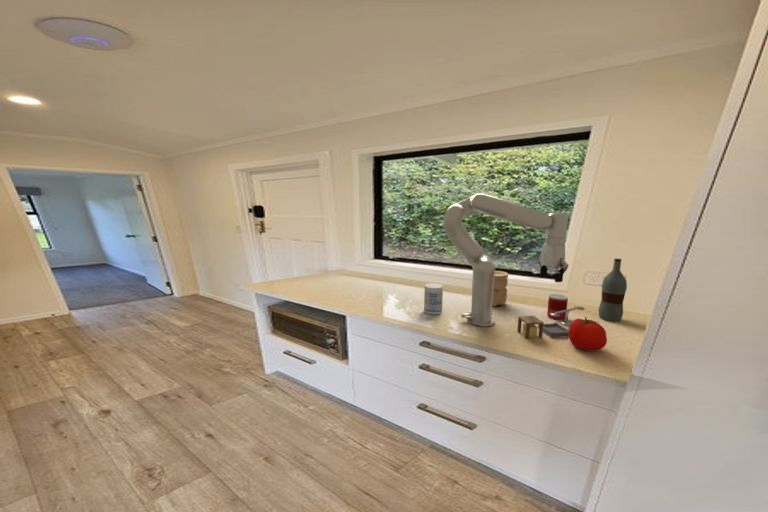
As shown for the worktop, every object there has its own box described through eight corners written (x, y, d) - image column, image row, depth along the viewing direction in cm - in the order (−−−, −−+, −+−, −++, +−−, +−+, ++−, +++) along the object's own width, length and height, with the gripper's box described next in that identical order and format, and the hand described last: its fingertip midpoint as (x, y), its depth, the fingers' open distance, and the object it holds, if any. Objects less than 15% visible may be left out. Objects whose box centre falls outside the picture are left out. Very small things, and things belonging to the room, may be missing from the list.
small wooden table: (526, 338, 118) (527, 323, 117) (517, 331, 125) (518, 316, 124) (542, 337, 119) (543, 322, 118) (532, 330, 126) (533, 315, 124)
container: (484, 306, 156) (485, 275, 153) (481, 299, 168) (483, 270, 165) (508, 308, 153) (510, 276, 150) (503, 300, 165) (505, 270, 162)
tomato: (584, 338, 118) (587, 312, 116) (615, 355, 105) (619, 326, 103) (558, 341, 116) (561, 315, 114) (586, 358, 103) (590, 329, 101)
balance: (552, 326, 129) (554, 309, 128) (547, 323, 133) (548, 306, 131) (584, 325, 130) (586, 308, 129) (578, 321, 134) (580, 304, 133)
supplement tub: (430, 316, 144) (430, 289, 141) (420, 310, 152) (421, 284, 150) (445, 313, 147) (446, 286, 145) (435, 307, 156) (436, 282, 153)
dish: (551, 337, 119) (551, 333, 119) (537, 328, 128) (538, 324, 128) (570, 336, 120) (571, 331, 120) (556, 327, 129) (556, 323, 128)
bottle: (612, 315, 141) (620, 257, 135) (627, 322, 132) (636, 260, 126) (593, 315, 141) (600, 257, 136) (606, 322, 132) (615, 261, 127)
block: (527, 337, 120) (528, 327, 119) (522, 333, 124) (523, 323, 123) (536, 336, 120) (537, 327, 119) (531, 332, 124) (531, 323, 123)
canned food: (568, 321, 135) (570, 299, 133) (550, 319, 137) (552, 298, 135) (561, 314, 142) (564, 294, 140) (544, 313, 144) (546, 293, 142)
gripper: (534, 238, 130) (530, 274, 133) (561, 244, 113) (556, 284, 116) (549, 238, 131) (545, 273, 134) (578, 243, 114) (573, 284, 117)
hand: (550, 278), depth 125 cm, fingers open, 9 cm apart
